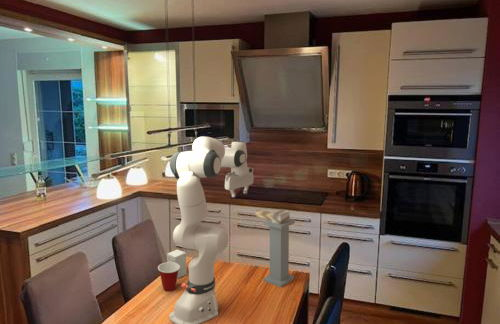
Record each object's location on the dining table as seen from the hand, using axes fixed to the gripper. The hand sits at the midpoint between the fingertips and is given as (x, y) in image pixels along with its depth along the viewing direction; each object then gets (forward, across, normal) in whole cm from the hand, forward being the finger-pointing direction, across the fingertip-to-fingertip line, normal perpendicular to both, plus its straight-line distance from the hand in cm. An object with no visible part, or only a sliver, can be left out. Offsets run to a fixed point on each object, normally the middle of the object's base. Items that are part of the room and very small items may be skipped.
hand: (239, 195), depth 202 cm
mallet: (+9, 0, -21) cm, 23 cm away
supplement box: (+42, -30, +19) cm, 55 cm away
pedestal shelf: (+41, 0, -27) cm, 49 cm away
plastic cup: (+41, -42, +10) cm, 60 cm away
